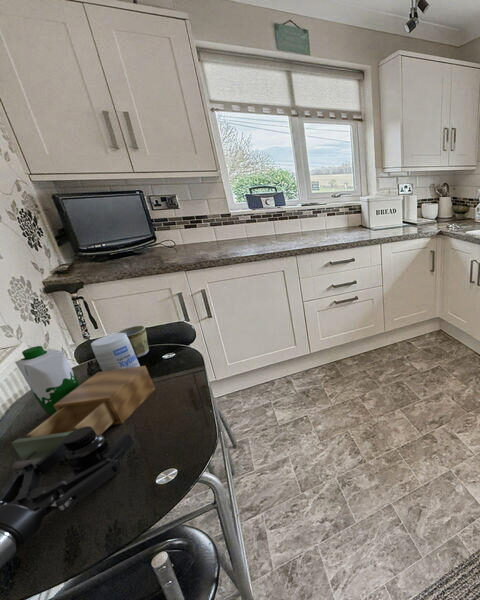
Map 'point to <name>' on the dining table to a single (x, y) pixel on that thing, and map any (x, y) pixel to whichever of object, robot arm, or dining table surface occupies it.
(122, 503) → the dining table surface
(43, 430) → the drawer
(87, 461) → the supplement bottle
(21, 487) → the robot arm
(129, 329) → the ceramic cup
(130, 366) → the supplement tub
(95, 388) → the cabinet
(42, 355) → the milk carton
